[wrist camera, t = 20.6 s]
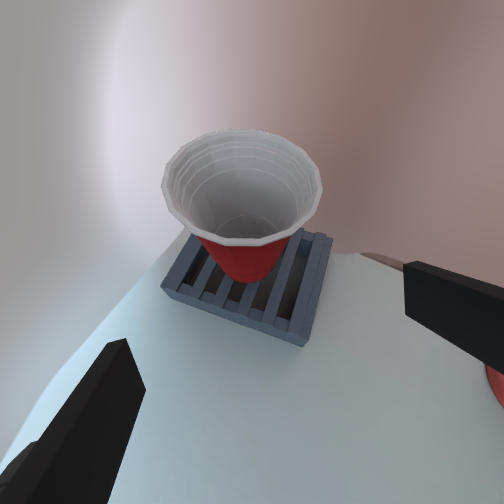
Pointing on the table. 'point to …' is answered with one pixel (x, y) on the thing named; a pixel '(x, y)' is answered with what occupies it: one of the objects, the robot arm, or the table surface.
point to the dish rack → (255, 287)
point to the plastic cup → (242, 197)
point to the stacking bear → (496, 383)
